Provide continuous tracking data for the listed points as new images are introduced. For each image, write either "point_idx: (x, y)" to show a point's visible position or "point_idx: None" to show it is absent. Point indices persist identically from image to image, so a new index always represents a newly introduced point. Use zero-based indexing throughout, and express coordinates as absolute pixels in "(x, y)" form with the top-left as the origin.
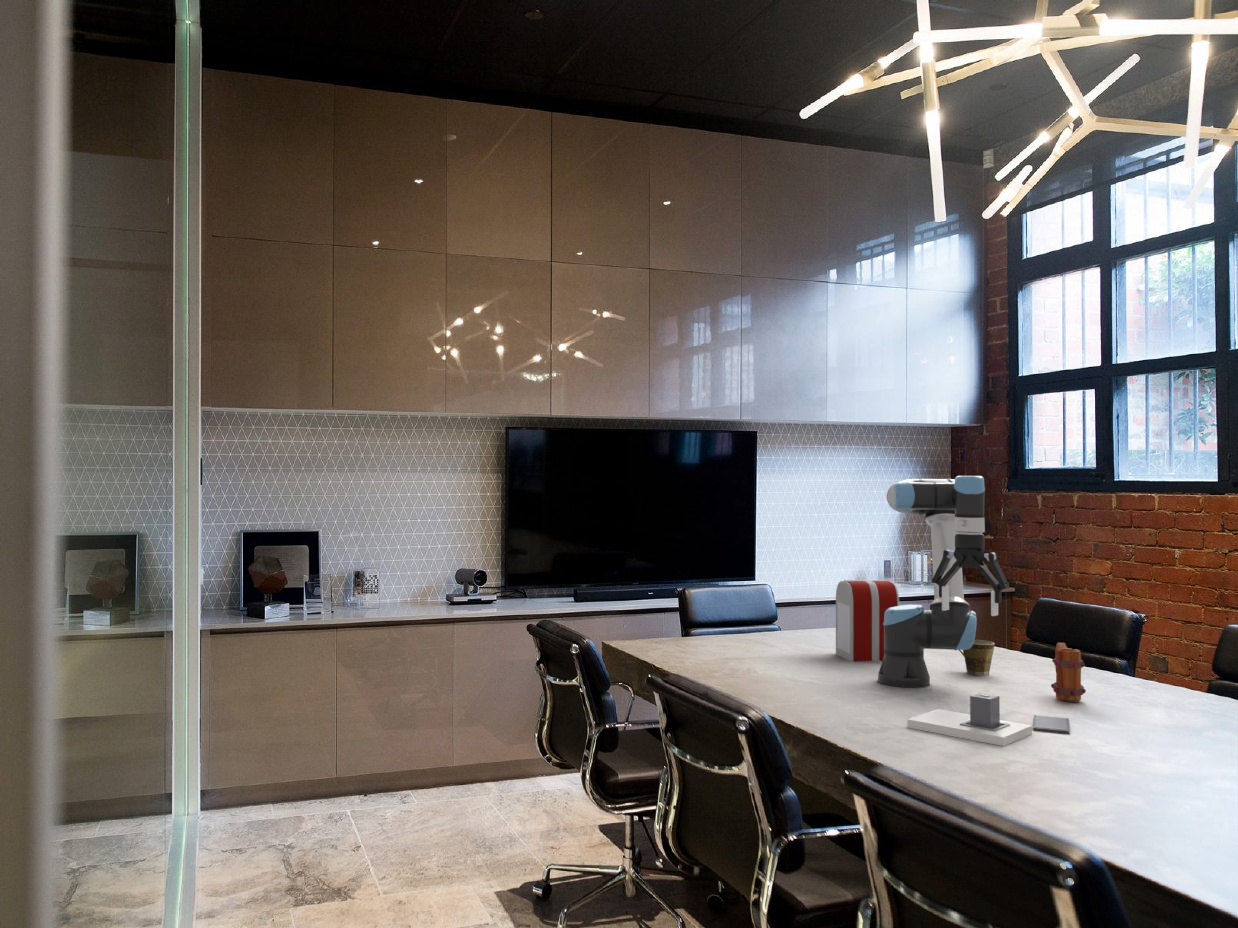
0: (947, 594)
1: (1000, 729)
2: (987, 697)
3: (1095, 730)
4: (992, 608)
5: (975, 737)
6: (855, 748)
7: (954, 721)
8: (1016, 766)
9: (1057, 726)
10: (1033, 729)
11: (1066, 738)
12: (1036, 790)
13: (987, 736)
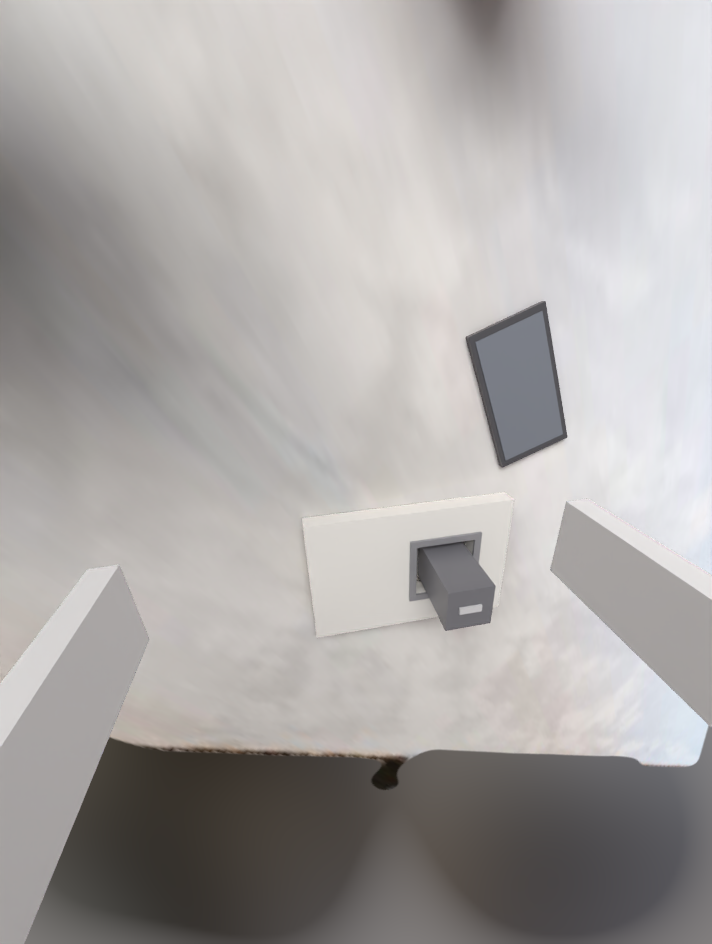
0: (31, 776)
1: None
2: (479, 614)
3: (604, 356)
4: (605, 610)
5: None
6: (340, 746)
7: (388, 586)
8: (532, 655)
9: (540, 417)
10: (500, 465)
11: (563, 471)
12: (570, 700)
13: None
